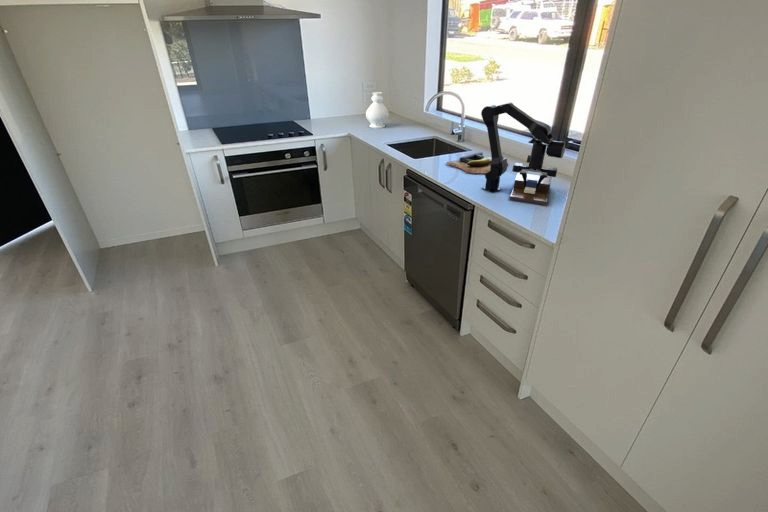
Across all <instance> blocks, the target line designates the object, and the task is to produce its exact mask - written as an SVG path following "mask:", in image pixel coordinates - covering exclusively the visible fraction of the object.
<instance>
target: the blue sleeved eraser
mask: <svg viewBox="0 0 768 512" xmlns="http://www.w3.org/2000/svg"><path fill="white" fill-rule="evenodd" d="M537 182H538V181H536V180H529V179H527V182H526V187H525V190H524V193H531V194H535V191H536V186H537Z"/></svg>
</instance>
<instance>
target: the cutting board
mask: <svg viewBox="0 0 768 512" xmlns="http://www.w3.org/2000/svg"><path fill="white" fill-rule="evenodd" d="M484 158H485V159H481V160H474V161H470V162H468V163H464V162H460V161H459V159H457V160H450V161H447V162H446V164H447V165H449V166H451V167H455V168H458V169H461V170H462V171H463V172H465V173H469V174H486V173H488V172H489V171H490V165H491V163H489V162H490V160H492V156H491V157H489V156H488V157H487V156H486V157H485V156H484Z"/></svg>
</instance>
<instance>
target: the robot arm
mask: <svg viewBox="0 0 768 512" xmlns="http://www.w3.org/2000/svg"><path fill="white" fill-rule="evenodd" d="M502 114H507V115H508V116H510V117H511V118H512V119H514V120H515V121H517V122H518V123H519V124H521V125H522V126H524V127H525V128H526V129H527V130H528V131H529V132H530V134H531V135H532V136H533V137H532V138H531V139H530V140H529V141H528V143H529V144H532V147H531V152H530V155H527V157H526V158H527V159H526V163H529V164H528V166H527V165H524V163H522V162H515V163H513V165H512V168H511V169H512V171H511V172H514V173H520V174H521V175H522V177H523V180H524V186H525V187H526V182H527V174H528V172H534V173H540V175H539V176H540V177H539V180H538V183H537V186H536V189H537V188H538V186H539V184H540V183H541V181H542V180H543V179H544V178H547V177H552V178H556V177H557V174H558V168H557V167H555V166H554V167H553V166H548V167H547V168H543V166H544V160H545V155H547V157H551V158H556V159H557V158H558V159H563V157H564V155H565V151H566V141H562V140H561V141H558V140H555V138H554V136H553V134H552V127H551V126H550V125H549V124H547V123H545V122H543V121H541V120H537V119H535V118H533V117H532V116H530V115H529V114H527V112H525V111H524V110H522V109H520V108H519V107H517V106H516V105H515V104H514V103H512V102H506V103H503V104H499V105H496V104H489V105H486V106H484V107H483V108H482V109H481V112H480V115H481V119H482V121H483V123H484V125H485V126H486V129H487V136H488V143H489V148H490V156H491V157H492V160H491V165H490V171H489V172H488V173H484V177H485V179H486V180H485V186H483V187H482V190H484V191H487V192H490V193H495V192H498V191H501V190H502V188H501V187H500V181H501V177H502V175H503V174H505V173H506V171H507V170H508V167H509V165H508V158H507V157H505V158H504V156H503V155H502V148H501V141H500V134H499V127H498V122H499V117H500V115H502Z"/></svg>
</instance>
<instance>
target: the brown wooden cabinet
mask: <svg viewBox="0 0 768 512" xmlns="http://www.w3.org/2000/svg"><path fill="white" fill-rule="evenodd" d="M539 177H540V175H539V174H531V173H527V179H529V180H536V181H538V180H539ZM552 178H553V177H550V176H547V178H544V179H543V180H542V181H541V183H540V184H539V186H538V188H537V189H536V191H535V194H531V193H524V190H525V186H524V180H523V177H522V175H521V174H520V172H517V174H516V177H515V179H514V182H513V188H512V191H511V193H510V195H509V201H511V202H519V203H526V204H532V205H537V206H543V207H545V206H547V203H548V197H549V192H550V188H551V184H552ZM537 183H538V182H537Z"/></svg>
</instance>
